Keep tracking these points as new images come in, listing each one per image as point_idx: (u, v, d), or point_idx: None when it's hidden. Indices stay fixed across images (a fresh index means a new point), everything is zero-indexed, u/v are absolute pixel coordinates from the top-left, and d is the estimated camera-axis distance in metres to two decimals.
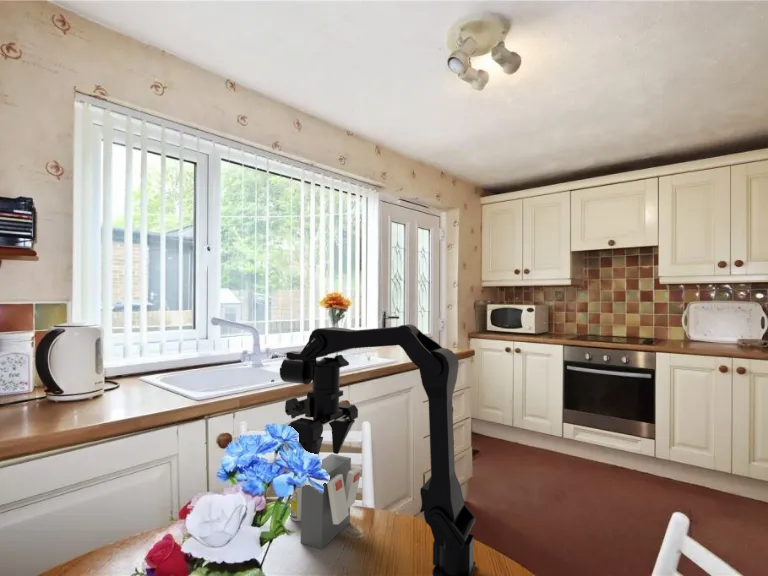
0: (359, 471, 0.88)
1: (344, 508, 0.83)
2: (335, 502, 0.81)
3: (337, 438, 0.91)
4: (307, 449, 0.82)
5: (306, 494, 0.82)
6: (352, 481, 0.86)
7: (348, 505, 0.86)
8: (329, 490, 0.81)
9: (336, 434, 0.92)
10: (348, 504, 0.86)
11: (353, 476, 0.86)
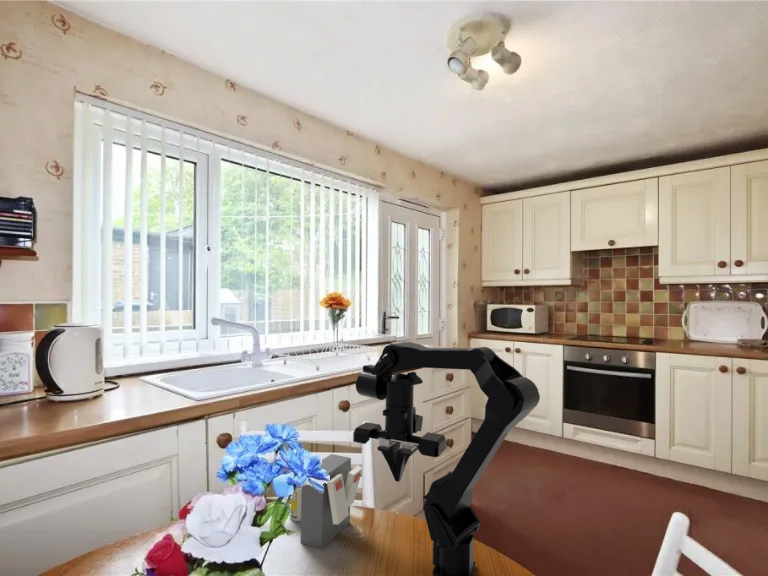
0: (360, 471, 0.88)
1: (344, 508, 0.83)
2: (335, 502, 0.81)
3: None
4: None
5: (306, 494, 0.82)
6: (352, 481, 0.86)
7: (347, 505, 0.87)
8: (329, 490, 0.81)
9: None
10: (347, 504, 0.86)
11: (354, 476, 0.86)
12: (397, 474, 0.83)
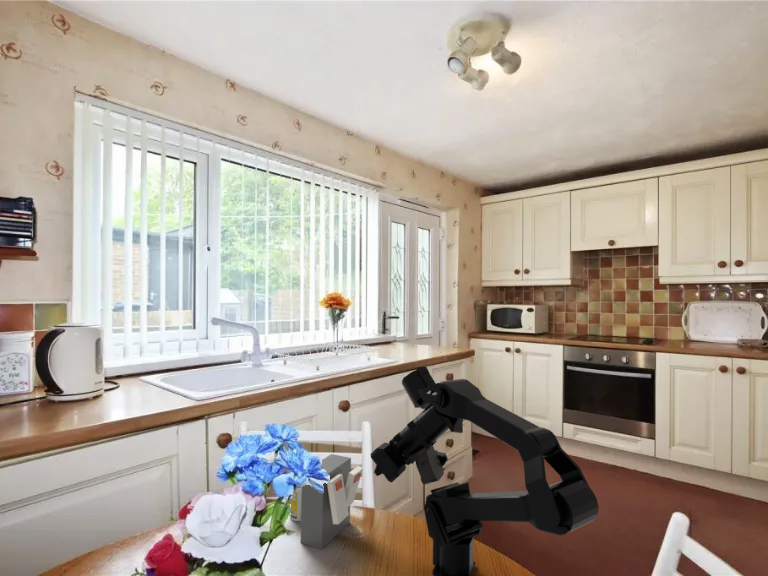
0: (360, 472, 0.88)
1: (344, 508, 0.83)
2: (335, 502, 0.81)
3: None
4: None
5: (306, 494, 0.82)
6: (353, 482, 0.86)
7: (347, 505, 0.87)
8: (329, 490, 0.81)
9: None
10: (347, 504, 0.86)
11: (354, 477, 0.85)
12: None
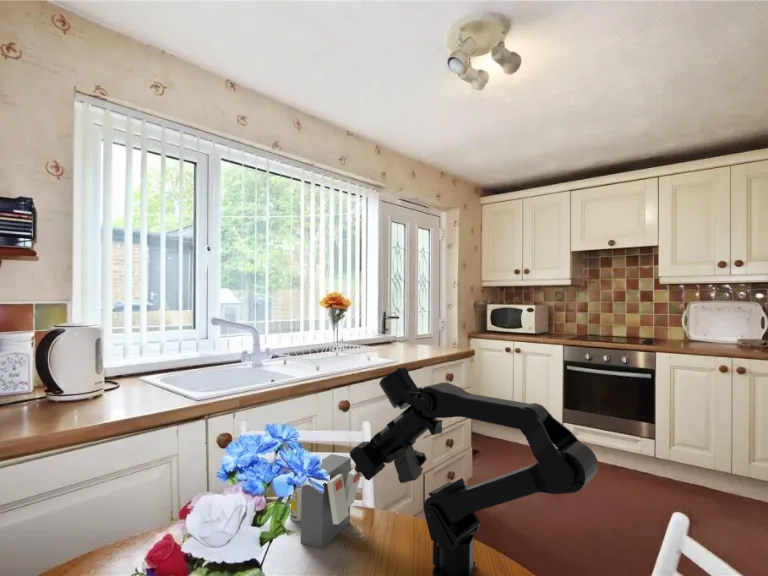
0: None
1: (344, 508, 0.83)
2: (335, 502, 0.81)
3: None
4: None
5: (306, 494, 0.82)
6: (352, 481, 0.86)
7: (347, 505, 0.87)
8: (329, 490, 0.81)
9: None
10: (347, 504, 0.86)
11: (354, 476, 0.86)
12: None
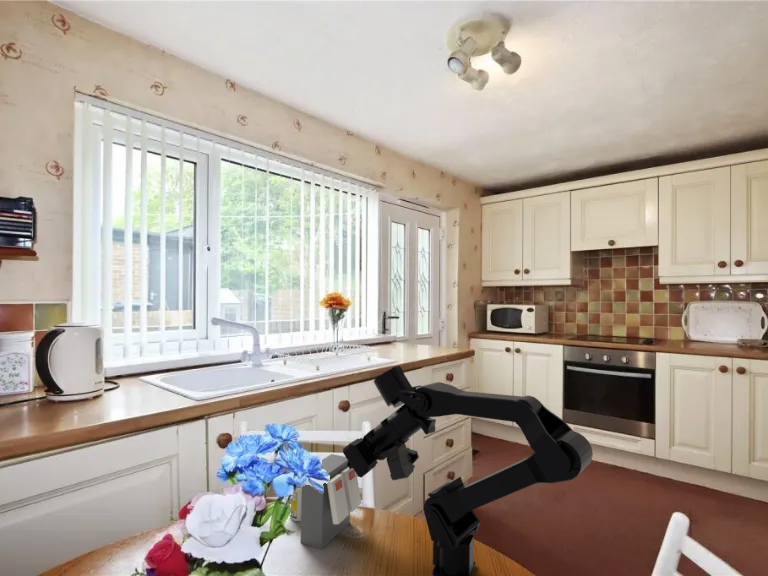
0: (353, 469, 0.89)
1: (344, 508, 0.83)
2: (335, 502, 0.81)
3: None
4: None
5: (306, 494, 0.82)
6: (348, 479, 0.86)
7: (354, 505, 0.86)
8: (329, 490, 0.81)
9: None
10: (353, 504, 0.86)
11: (347, 473, 0.86)
12: None
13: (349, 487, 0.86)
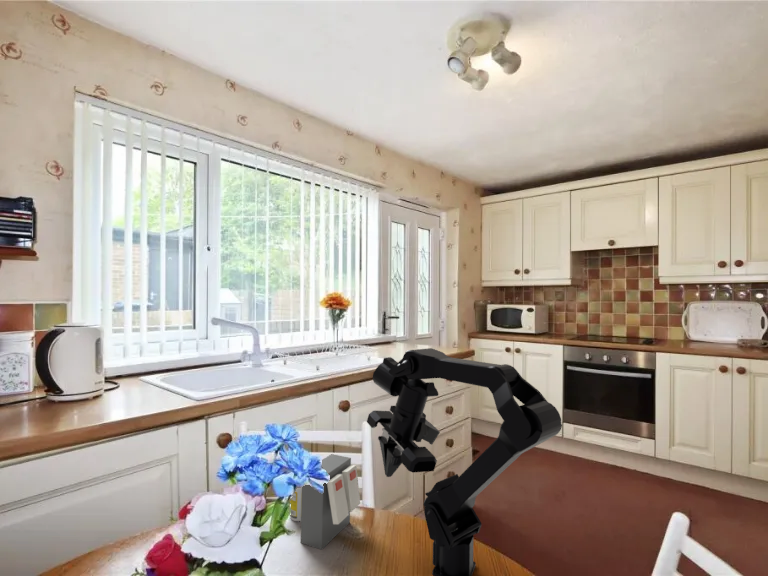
0: (354, 469, 0.88)
1: (344, 508, 0.83)
2: (335, 502, 0.81)
3: None
4: None
5: (306, 494, 0.82)
6: (349, 479, 0.86)
7: (353, 505, 0.86)
8: (329, 490, 0.81)
9: None
10: (352, 504, 0.86)
11: (348, 474, 0.86)
12: (386, 469, 0.85)
13: (349, 487, 0.86)
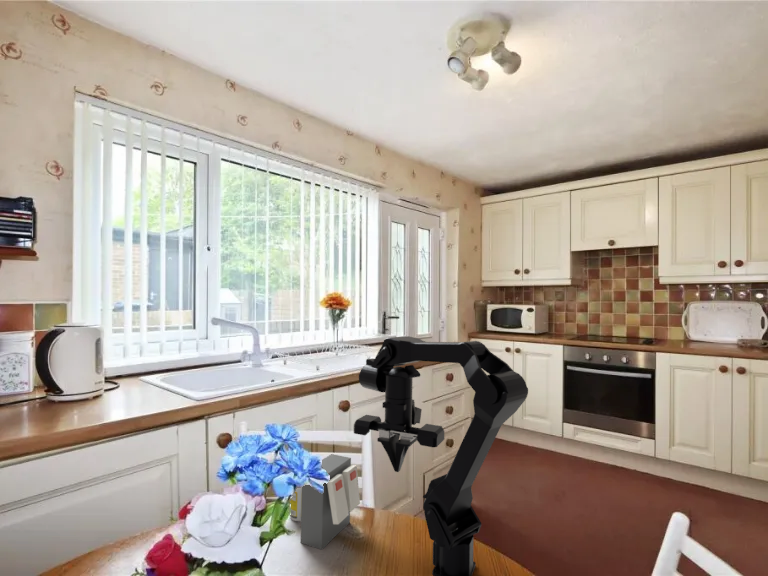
0: (354, 469, 0.88)
1: (344, 508, 0.83)
2: (335, 502, 0.81)
3: None
4: None
5: (306, 494, 0.82)
6: (349, 479, 0.86)
7: (353, 505, 0.86)
8: (329, 490, 0.81)
9: None
10: (352, 504, 0.86)
11: (348, 474, 0.86)
12: (396, 464, 0.85)
13: (349, 487, 0.86)
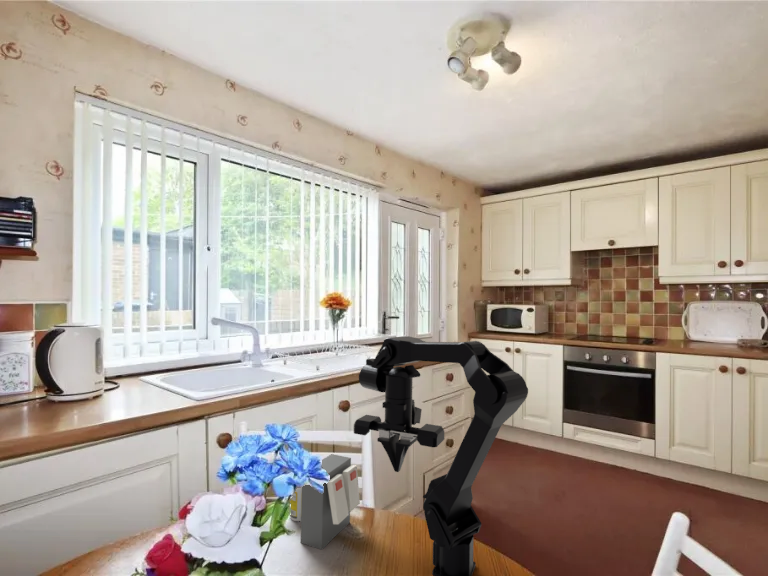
0: (355, 469, 0.88)
1: (344, 508, 0.83)
2: (335, 502, 0.81)
3: None
4: None
5: (306, 494, 0.82)
6: (349, 479, 0.86)
7: (352, 505, 0.86)
8: (329, 490, 0.81)
9: None
10: (352, 504, 0.86)
11: (349, 474, 0.86)
12: (396, 464, 0.85)
13: (349, 487, 0.86)
